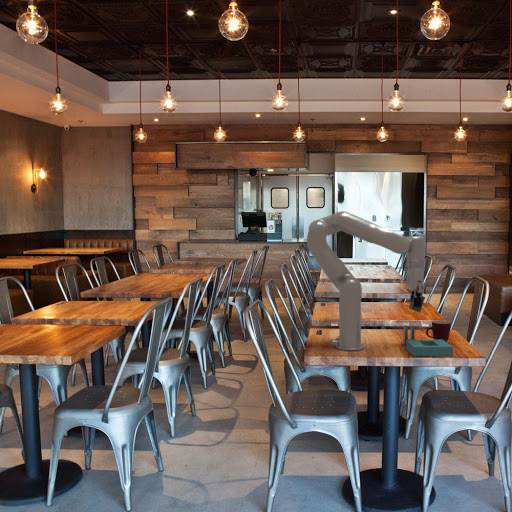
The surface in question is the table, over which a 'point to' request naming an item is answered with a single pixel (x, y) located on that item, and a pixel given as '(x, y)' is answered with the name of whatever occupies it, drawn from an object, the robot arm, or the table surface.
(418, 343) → the block
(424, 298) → the plug
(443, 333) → the mug
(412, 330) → the cable clip
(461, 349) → the table surface
